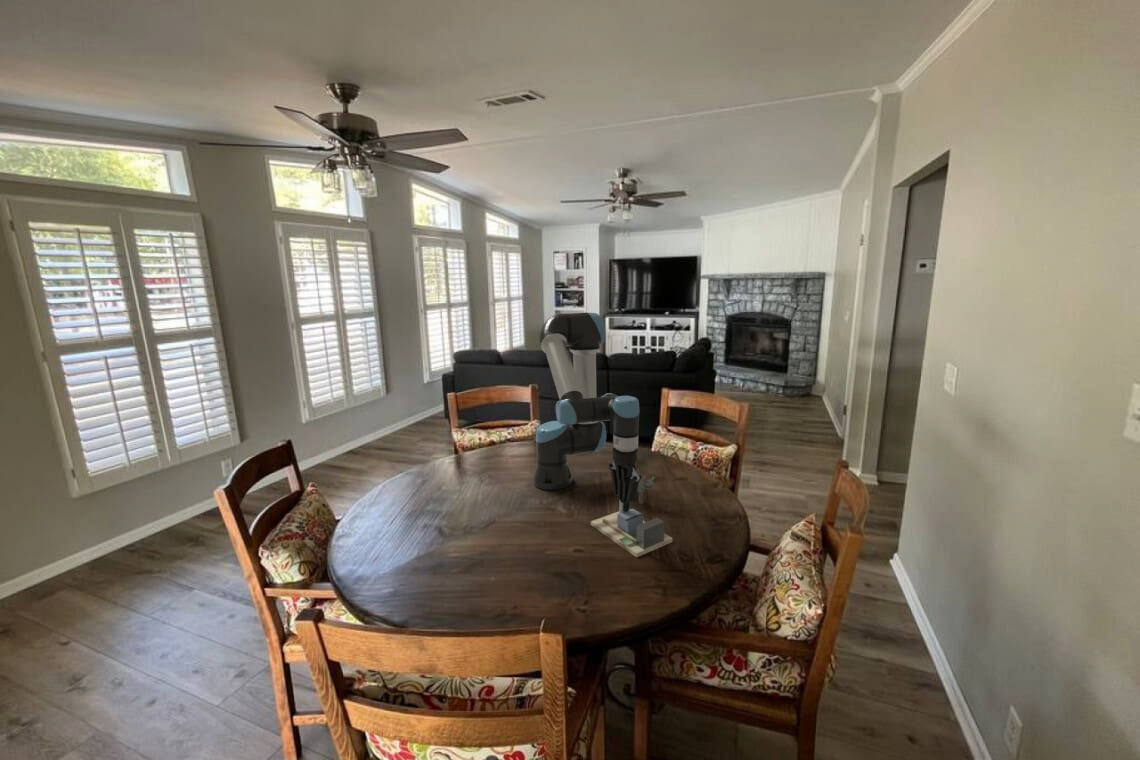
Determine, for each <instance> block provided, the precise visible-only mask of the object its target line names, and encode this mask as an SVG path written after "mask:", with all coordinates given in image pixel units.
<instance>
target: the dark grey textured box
mask: <svg viewBox="0 0 1140 760" xmlns="http://www.w3.org/2000/svg"><path fill="white" fill-rule="evenodd" d="M664 533H665V521H664V520H662V519H660V518H659V517H655V518H653V519H651V520H648V521H645V523H642V524H640V525H637V542H636V544H637V545H638V546H639V547H641V548H642V549H645V548H648V547H650V546H652V545H655V544H657V543H659V542H662V541H664Z"/></svg>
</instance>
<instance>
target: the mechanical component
mask: <svg viewBox="0 0 1140 760" xmlns="http://www.w3.org/2000/svg"><path fill="white" fill-rule="evenodd" d="M640 475H641V477H642V478H641V480H640V481H639V484H638V488H637V492H638V504H639V505H643V504H644V493H645V492H646V490H645V489H647V490H652V489H654V487H655V486H654V485H655V483H657V477H654V476H651V478H650V479H647V478H646V475H645V474H640Z"/></svg>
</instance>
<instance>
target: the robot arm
mask: <svg viewBox="0 0 1140 760" xmlns="http://www.w3.org/2000/svg"><path fill="white" fill-rule="evenodd" d="M605 341H606V327H605V324H604V321H603V319H602V317H601V315H600V314H598V313H596V312H588V311H587V312H575V313H573V312H572V313H557V314H554V315H553V316H550V317H549V318H548V319H546V321H545V323H544V324H543V325H542V327H541V329H540V333H539V345H540V349H541V350H542V352H543V353H545V355H546V359H547V362H548V365H549V368H550V372H551V376H552V379H553V382H554V385H555V389H556V392H557V395H558V398H559V400H558V401H557V402H556V404H555V414H556V420H551V421H547V422H545V423H542V424H541V425H539V426H537V429H536V430H535V431H536V432H535V443H536V445H535V446H536V448H535V449H536V465H535V468H534V473H533V476H532V483H533V485H534V486H535V487H537V488H538V489H541V490H546V491H556V490H563V489H565V488H568V487H569V486H570V485H571V484H572V483H573V475H572V473H571V470H570V466H569V464H568V456H575V455H581V454H583V455H584V454H593V453H596V452H600V451H602V450H603V448H605V445H606V440H607V430H606V428H607V427H606V425H605V423H604V422H606V421H607V422H608V421H610V422H611V423H612V446H613V448H612V461H613V462H611V463H608V468H609V470H610V474H611V482H612V491H613V494H614V496H617V499H618V509H619V510H618V511H619V513H621V512H624V511H625V512H626V511H628V510H629V509H630V503H631V502H634V501H635V499H636V495H637V492H638V491H637V490H638V484H639V481H640V480H641V478H642V477H641V475H642V474H638V473H637V472H636V471H637V467H636V463H637V461H638V457H639V455H638V453H639V450H638V448H639V425H640V424H639V423H640V412H641V411H640V402H639V399H638V398H637V397H635V396H631V395H620V396H619V395H618V394H615V393H611V392H607V393H605V394H603V395H601V396H597V353H598V351H600V349H601V345H602V344H604V343H605ZM567 346H568V347H567ZM569 351H570V352H571V353H572V354H573V355H572V356H573V357H572V359H571V357H570V353H569ZM572 360H573V361H572ZM572 362H573V363H572Z"/></svg>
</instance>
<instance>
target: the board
mask: <svg viewBox="0 0 1140 760" xmlns="http://www.w3.org/2000/svg"><path fill="white" fill-rule="evenodd" d="M618 513H619V510H618V511H617V512H616V511H615V512H613V513H611V514H608V515H604V516H602V517H599V518H597V519H593V520H591V521H590V526H592V527H593V528H595V529H596V530H597V531H599V532H600V533H601V534H603V535H604V536H606V537H607V538H609V539H610V540H611V541H613V542H614V543H616V544H617V545H618V546H620V547H621V548H623V549H624V550H626V551H627V552H628V553H629V554H631V555H633V556H634V557H635V558H638V557H641V556H643V555H646V554H648V553H650V552H652V551H656V550H657V549H659V548H662V547H664V546H666V545H668V544H671V543H673V537H671V536H670V535H668V534H666V533H665V532H664V541H662V542H659V543H657V544H655V545H652V546H650V547H648V548H645V549H642V548H641V547H639V546H638V545H637V544H636V542H637V532H636V533H633V534H631V535H629V534H627V533H626V532H624V531H623V530H621V529H620V528H618V527H617V514H618ZM645 522H646V521H644V520H643V523H645Z"/></svg>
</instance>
